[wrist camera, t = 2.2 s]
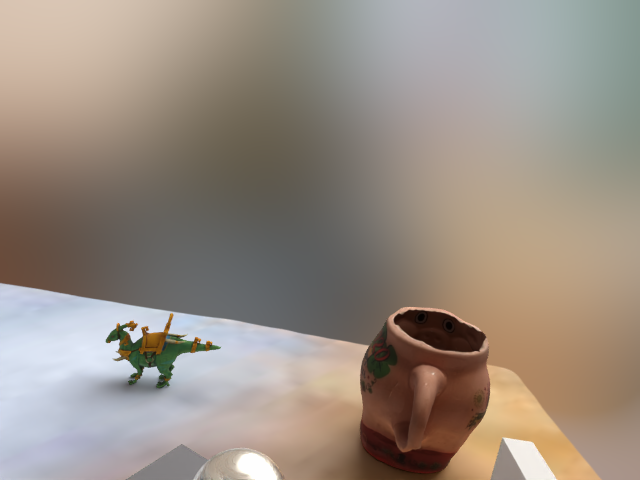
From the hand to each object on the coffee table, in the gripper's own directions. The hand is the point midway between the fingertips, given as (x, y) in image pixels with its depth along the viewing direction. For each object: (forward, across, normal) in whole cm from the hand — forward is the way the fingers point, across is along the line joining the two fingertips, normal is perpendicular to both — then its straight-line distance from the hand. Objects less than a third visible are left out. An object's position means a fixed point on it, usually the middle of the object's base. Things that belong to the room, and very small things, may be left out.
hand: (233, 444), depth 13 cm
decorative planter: (+34, +14, -23) cm, 44 cm away
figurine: (+40, -12, -23) cm, 48 cm away
